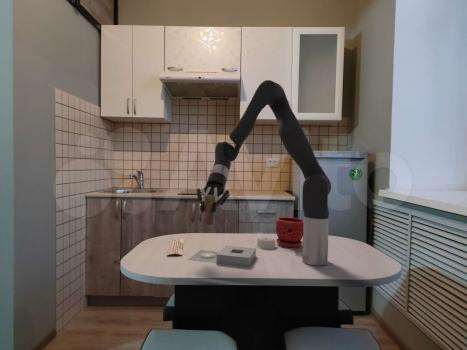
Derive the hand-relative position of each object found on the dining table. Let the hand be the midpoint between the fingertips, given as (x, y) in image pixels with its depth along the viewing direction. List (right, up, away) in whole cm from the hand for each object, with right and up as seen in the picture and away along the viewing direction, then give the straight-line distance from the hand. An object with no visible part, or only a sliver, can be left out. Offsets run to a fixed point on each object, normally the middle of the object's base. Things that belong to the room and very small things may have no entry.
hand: (207, 211), depth 110 cm
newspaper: (-14, -18, +16) cm, 28 cm away
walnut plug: (0, -5, +2) cm, 5 cm away
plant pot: (+36, -19, +25) cm, 47 cm away
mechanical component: (+24, -19, +18) cm, 36 cm away
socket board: (+6, -19, +1) cm, 20 cm away
